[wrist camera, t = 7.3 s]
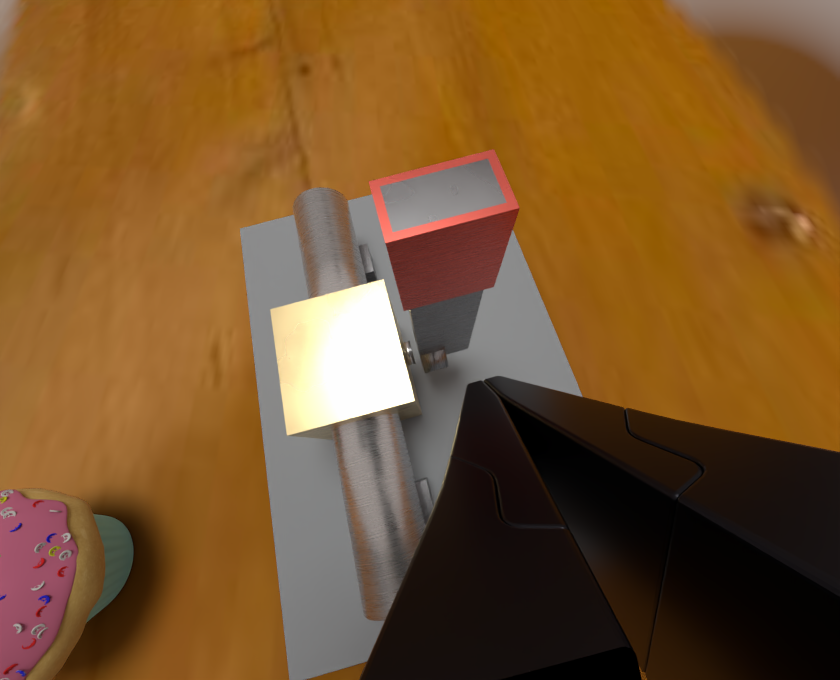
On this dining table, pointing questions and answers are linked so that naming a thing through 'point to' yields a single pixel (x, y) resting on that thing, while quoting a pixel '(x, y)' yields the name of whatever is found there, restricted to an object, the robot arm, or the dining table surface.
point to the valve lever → (445, 245)
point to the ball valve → (353, 392)
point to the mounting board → (424, 435)
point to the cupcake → (53, 577)
